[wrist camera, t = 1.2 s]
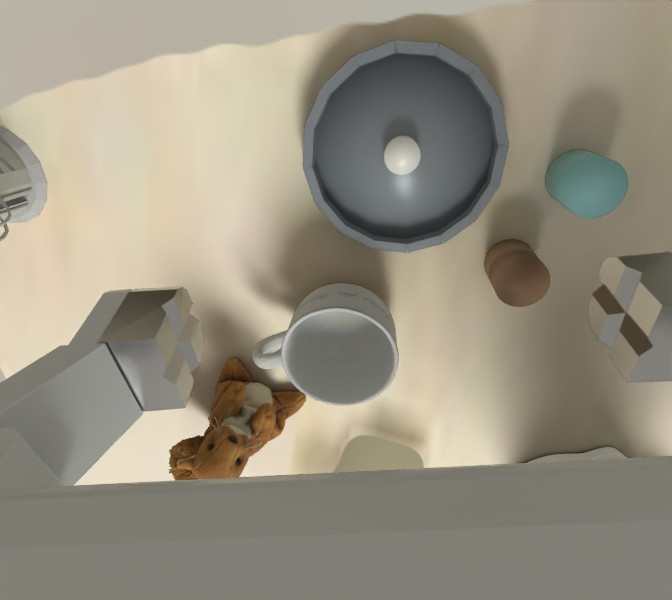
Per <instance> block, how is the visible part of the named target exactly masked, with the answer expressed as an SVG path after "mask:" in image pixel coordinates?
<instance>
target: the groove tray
mask: <svg viewBox="0 0 672 600" xmlns="http://www.w3.org/2000/svg"><path fill="white" fill-rule="evenodd" d="M322 87H323V88H321V90H320V92H319V94H318V96H317V99H316V101H315V103H314V106H313V108H312V110H311V112H310V115H309V117H308V119H307V122H306V124H305V126H306V127H304V148H303V167H304V168H303V170H304V172H305V175H306V178H307V181H308V184H309V187H310V190H311V193H312V196H313V198H314V201H315V203H316V205H317V206H318V208H319V209H320V210H321V211H322V212H323V213H324V215H325V216H326V217H327V218H328V219H329V220H330V222H331V223H332V224H333V225H334V226H335V227H336V229H337V230H338V231H340V233H342V234H344V235H346V236H348V237H350V238H352V239H354V240H356V241H358V242H360V243H361V244H363V245H365V246H367V247H369V248H372V249H378V250H387V251H396V252H406V253H407V251H408V253H409V252H413V251H416V250H420V249H424V248H428V247H431V246H435V245H439V244H443V241H444V242H446V241H448V240H449V239H451V238H452V237H453V236H455V235H456V234H458V233H459V232H461V231H462V230H463V229H465V228H466V227H468V226H469V225H470V224H472V223H473V222H475V221H476V220H477V218H478V217H479V216H480V214H481V213H482V211H483V210H484V208H485V207H486V205H487V204H488V202H489V201H490V199H491V198H492V196H493V195H494V193H495V192H496V190H497V189H498V187H499V186H500V181H501V177H502V173H503V168H504V164H505V160H506V155H507V151H508V147H509V145H508V144H509V142H508V136H507V130H506V124H505V118H504V112H503V106H502V103H501V100H500V98H499V97H498V95H497V94H496V92H495V91H494V89H493V88H492V86H491V85H490V83H489V82H488V80H487V79H486V77H485V76H484V74H483V73H482V71H481V70H480V68H479V67H478V66H477V65H476V64H474V63H472V62H471V61H469V60H467V59H466V58H464V57H462V56H460V55H459V54H457V53H455V52H454V51H452V50H450V49H449V48H447V47H445V46H443V45H442V44H439V43H429V42H416V41H402V40H396V44H395V40H394V41H391V42H389V43H386V44H384V45H381V46H378V47H376V48H373V49H370V50H368V51H365V52H363V53H360V54H357V55H355V56H354V57H352V58H351V59H350V60H349V61H348V62H347V63H346V64H345V65H344V66H343V67H342V68H341V69H340V70H339V71H338V72H336V73H335V74H334V75H333V76H332V77H331V78H330V79H329V80H328V81H327V82H326V83H325V84H324V85H323V86H322ZM475 219H476V220H475Z"/></svg>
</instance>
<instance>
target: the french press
mask: <svg viewBox="0 0 672 600" xmlns="http://www.w3.org/2000/svg"><path fill="white" fill-rule="evenodd" d="M46 201H47V181H46V178H45V175H44V172H43V169H42V166H41V163H40V162H39V160H38V159H37V157H36V156H35V155H34V153H33V152H32V151H31V149H30V148H29V146H28V145H27V144H26V143H25V142H24V141H22V140H21V139H20V138H18V137H17V136H16V135H14V134H13V133H12V132H11V131H9V130H7V129H4V128H2V127H0V221H1V223H0V227H2V226H4V228H5V232H4V233H3V234H2V236H1V237H0V241H1V240H2V239H4V238H5V237H6V235H7V233H8V231H9V230H8V227H7V224H6V223H7V222H9V223H19V222H28V221H29V220H31V219H33V218H34V217H36V216H38V215H39V214H40V212H41V210H42V209H43V207H44V205H45V203H46Z"/></svg>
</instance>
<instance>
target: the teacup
mask: <svg viewBox="0 0 672 600" xmlns="http://www.w3.org/2000/svg"><path fill="white" fill-rule="evenodd" d="M278 347H281V349H279V350H278V351H276V352H274V353H270V354H266V353H268V352H270V351H271V350H274V349H276V348H278ZM252 358H253V360H254V362H255V364H256V365H257V366H258V367H260V368H263V369H272V368H275V367H278V366H281V365H283V368H284V370H285V372H286V374H287V376H288V377H289V379H290V380H291V382H292V383H293V384H294V386H295V387H296V388H297V389H299V390H300V391H301V392H302V393H304V394H305V395H307V396H309V397H310V398H313V399H315V400H317V401H320V402H323V403H327V404H332V405H339V406H345V405H356V404H360V403H364V402H366V401H369V400H371V399H373V398H375V397H377V396H378V395H380V394H381V393H382V392H383V391H384V390H385V389H387V387H388V386H389V385H390V384H391V382H392V381H393V379H394V377H395V374H396V371H397V368H398V362H399V354H398V349H397V342H396V331H395V325H394V321H393V318H392V315H391V313H390V311H389V309H388V308H387V306H386V305H385V303H384V302H383V301H382V300H381V299H380V298H379V297H378V296H377V295H376V294H374V293H373V292H371V291H370V290H368V289H366V288H364V287H361V286H358V285H354V284H348V283H335V284H330V285H326V286H323V287H320V288H318V289H316V290H314V291H313V292H311V293H310V294H309V295H308V296H306V297H305V298H304V299H303V301H302V302H301V303H300V305H299V306H298V308H297V309H296V311H295V313H294V315H293V317H292V320H291V322H290V325H289V328H288V330H286V331H284V332H280V333H278V334H275V335H272V336H269V337H267V338H265V339H263V340H261V341H260V342H258V343H257V344H256V345H255V346H254V348H253V350H252Z"/></svg>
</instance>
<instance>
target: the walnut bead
mask: <svg viewBox="0 0 672 600" xmlns="http://www.w3.org/2000/svg"><path fill="white" fill-rule="evenodd" d="M484 267H485V271H486V273H487V275H488V277H489V279H490V281H491V283H492V285H493V288H494V290H495V292H496V294H497V296H498V297H499V298H500V300H502V301H503V302H504V303H506V304H508V305H511V306H515V307H523V306H528V305H531V304H533V303H535V302H537V301H538V300H540V299H541V298H542V297H543V296H544V295H545V293H546V292H547V290H548V288H549V285H550V274H549V271H548V270H547V268H546V267H545V265H544V264H543V263H542V262H541V261H540V259H539V258H538V257H537V256H536V254H535V253H534V252H533V251H532V250H531V248H530V247H529V246H528V245H527V244H526V243H524V242H522V241H519V240H514V239H510V240H504V241H501V242H499V243H497V244H496V245H494V246H493V247H492V248H491V249H490V250H489V251H488V253H487V255H486V257H485V262H484Z"/></svg>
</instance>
